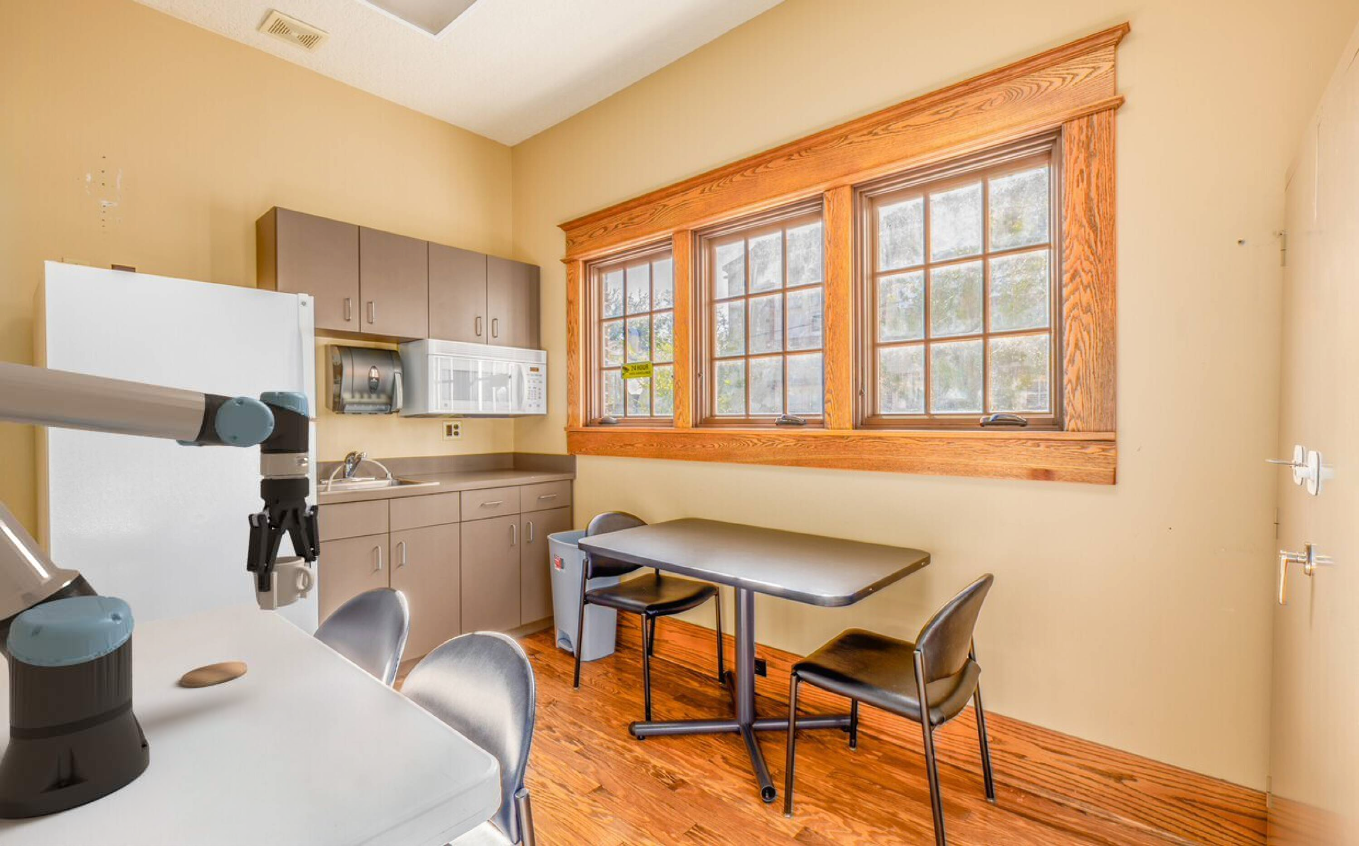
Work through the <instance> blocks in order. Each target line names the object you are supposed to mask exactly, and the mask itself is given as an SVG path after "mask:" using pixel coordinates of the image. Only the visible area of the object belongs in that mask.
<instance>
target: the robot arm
mask: <svg viewBox="0 0 1359 846" xmlns="http://www.w3.org/2000/svg"><path fill="white" fill-rule="evenodd" d="M310 416H311V415H310V406H309V399H308V396H307V395H306V394H305V393H303V392H298V391H263V392H261V394H260V396H259V399H257V398H256V399H255V398H251V397H247V396H238V397H237V396H235V397H234V396H228V395H227V396H226V395H222V394H221V395H220V394H214V393H207V392H202V391H195V390H188V389H182V388H176V387H170V386H163V385H157V384H149V383H144V382H137V381H130V380H124V379H118V378H114V377H113V378H112V377H111V378H110V377H106V376H105V377H104V376H99V375H91V374H86V373H79V372H74V371H67V370H60V369H54V368H48V367H41V366H34V365H27V364H21V363H14V362H8V361H2V360H0V422H1V423H9V424H19V425H28V426H29V425H31V426H38V427H39V426H41V427H46V428H47V427H48V428H49V427H50V428H58V429H69V430H77V431H85V432H86V431H88V432H95V433H96V432H97V433H106V434H116V435H125V436H137V437H146V438H156V439H165V440H172V441H173V440H175V442H176V444H178V445H180V446H183V447H184V446H185V447H197V448H198V447H200V448H202V447H210V446H211V447H213V446H214V447H215V446H217V447H218V446H219V447H220V446H221V447H234V448H235V447H236V448H251V447H253V446H256V445H259V449H260V450H259V451H260V454H259V456H260V457H259V458H260V462H259V463H260V464H259V465H260V466H259V471H260V472H259V474H260V475H261V476H262V477H263V478H261V480H260V482H259V483H260V484H259V485H260V487H259V491H260V492H259V493H260V498H261V500H263V501H264V504H263V505H264V506H263V507H262V511H260V512H257V513H250V514H249V515H248V517H247V519H248V523H249V527H250V528H249V537H248V550H247V559H246V571H247V572H250V573H252V574H253V573H257V574H258V591H259V592H260V605H259V609H260V611H261V610H262V611H275V610H277V609H278V607H277V572H272V571H273V568H274V564H275V561H276V557H277V556H278V552H279V548H280V546H281V543H282V539H283V538H282V537H283V535H284V534H286V532H287V531H288V533H289V537H290V541H291V544H292V547H293V550H294V554H295V556H299V557H303V558H304V566H305V567H308V568H310V569H312V562H316V561H317V560H318V557H319V556H320V555H321V546H320V537H319V525H318V524H319V523H318V513H319V509H320V508H319V505H317V504H308V503H307V501H306V500H305V498H307V497H309V496H310V478H309V477H308V476H306V475H307V474H309V473H310V467H309V466H310V459H309V458H310V457H309V456H310V455H309V453H310V449H309V448H310V447H309V444H310V419H311V417H310ZM255 564H256V565H255ZM265 564H266V566H265ZM307 582H308V579H307V575H306V574H305V573H303V579H302V586H303V587H304V588H306V586H307ZM310 593H311V590H310V591H309V592H306V593H301V595H300V598H299V599H308V598H310V595H311V594H310ZM134 627H135V620H134V618H133V615H132V608H131V605H130V604H129V603H128V602H127V601H126V600H124V599H123V598H122V599H121V598H119V597H116V596H105V595H99V594H98V592H97V591H96V590H95V589H94V588H93V586H91V584H90V583H89V582H88V580H86V579H85V578H84V576H83V575H82V574H81V573H80V571H79V570H77V569H70V568H69V569H68V568H59V567H58V566H57V565H56V564H55V563H54V561H52V559H51V558H50V557H49V556H48V555H47V553H46V552H45V551H44V550H43V548H42V547H41V546H40V545H39V544H38V543H37V542H36V540H35V539H34V538H33V537H32V536H31V534H30V532H28V530H26V528H25V527H24V526H23V525H22V524H21V522H20V521H19V520H18V519H17V518H16V516H14V514H13V513H12V512H11V511H10V510H9V508H8V507H7V506H6V505H5V503H4V502H3V501H2V500H1V499H0V653H1V655H2V656H3V657H4V658H5V660H6V661H7V669H8V679H9V680H8V683H9V685H8V686H9V687H8V688H9V689H8V690H9V691H8V692H9V693H8V694H9V695H8V700H9V703H8V705H9V707H8V708H9V710H8V711H9V712H8V715H9V717H8V719H9V740H8V744H7V746H6V749H5V751H4V753H3V757H2V759H1V761H0V818H2V819H3V818H4V819H20V818H30V817H37V816H42V815H47V814H50V813H51V814H52V813H56V812H60V811H64V810H67V809H70V808H74V807H77V806H80V805H83V804H86V803H88V802H92V801H94V800H97V799H99V798H101V797H104V796H106V795H108V794H111V793H112V792H114V791H117V790H119V789H121V788H122V787H124V786H126V785H127V784H130V783H131V782H133V781H134V780H136V779H137V778H138V777H139V776H141V775H142V774H143V773H144V772H145V771H146V769H148V767H149V765H150V759H151V757H150V754H151V753H150V745H149V742H148V740H147V739H146V736H145V734H144V732H143V729H142V727H141V725H140V723H139V721H138V718H137V717H136V715H135V712H134V710H133V709H134V707H133V705H134V704H133V690H134V689H133V630H134Z"/></svg>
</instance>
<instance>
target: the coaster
mask: <svg viewBox="0 0 1359 846" xmlns="http://www.w3.org/2000/svg"><path fill="white" fill-rule="evenodd" d="M247 671H248V665H247V664H246V663H245V662H243V661H242V662H241V661H226V662H218V663H213V664H208V665H204V666H201V667H198V668H194V669H192V670H190V671H187V672H185V674H183V675H181V678H180V685H181V686H183V687H187V688H201V687H209V686H214V685H219V684H223V683H226V682H229V681H233V680H234V679H237V678H240V677H242V676H243V675H244V674H246V673H247Z"/></svg>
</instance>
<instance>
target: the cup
mask: <svg viewBox="0 0 1359 846" xmlns="http://www.w3.org/2000/svg"><path fill="white" fill-rule="evenodd" d="M255 565H256V564H255ZM265 566H266V564H265ZM272 572H277V608H281V607H286V606H290V605H293V604H295V603H296V602H298V601H299V599H301V598H300V595H301V593H306V592H309V591H310V592H311V591H312V589H313V587H314V585H315V582H316V580H315V579H316V577H315V575H316V574H315V573H314V570H313V569H312V568H311V569H310V568H308V567H305V566H304V558H303V557H299V556H296V555H295V556H294V555H292V556H290V555H289V556H286V555H285V556H278V557H276V561H275V564H274V568H273V571H272ZM303 573H305V574H306V575H307V579H308V582H307V586H306V588H304V587H303V586H302V579H303ZM252 574H253V583H254V589H255V590H254V591H255V597H256V602H257V604H258V606H260V592H259V591H258V574H257V573H253V572H252Z"/></svg>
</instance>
